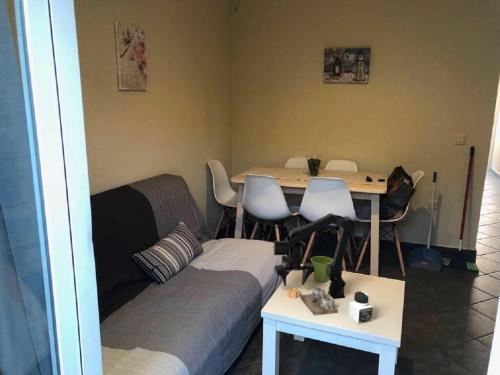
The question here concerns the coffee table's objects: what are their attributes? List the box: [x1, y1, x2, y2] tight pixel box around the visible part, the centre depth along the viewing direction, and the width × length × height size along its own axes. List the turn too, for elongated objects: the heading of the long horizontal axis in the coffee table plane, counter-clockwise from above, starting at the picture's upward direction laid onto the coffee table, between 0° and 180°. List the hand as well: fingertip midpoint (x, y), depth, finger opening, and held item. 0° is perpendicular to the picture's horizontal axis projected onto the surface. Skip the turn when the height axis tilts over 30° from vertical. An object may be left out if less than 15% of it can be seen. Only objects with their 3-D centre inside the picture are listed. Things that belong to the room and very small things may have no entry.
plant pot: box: [310, 255, 333, 283], centre depth 216 cm, size 12×12×11 cm
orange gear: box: [286, 286, 301, 300], centre depth 197 cm, size 6×6×3 cm
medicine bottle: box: [348, 290, 373, 325], centre depth 176 cm, size 7×7×12 cm
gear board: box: [299, 287, 338, 316], centre depth 188 cm, size 11×17×6 cm, turn 14°
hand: (293, 285), depth 197 cm, fingers open, 9 cm apart
